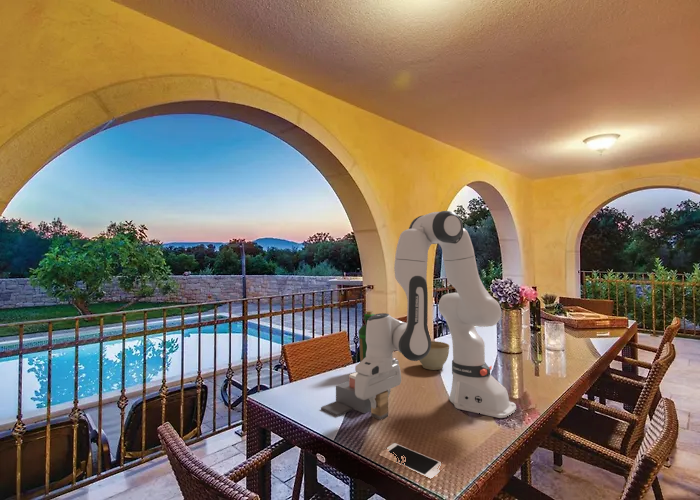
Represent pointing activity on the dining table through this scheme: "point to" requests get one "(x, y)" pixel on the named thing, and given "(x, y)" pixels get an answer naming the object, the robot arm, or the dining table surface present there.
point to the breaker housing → (351, 398)
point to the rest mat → (336, 408)
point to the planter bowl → (436, 356)
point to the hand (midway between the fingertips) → (379, 405)
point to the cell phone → (416, 460)
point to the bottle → (364, 336)
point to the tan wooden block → (381, 406)
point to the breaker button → (352, 380)
